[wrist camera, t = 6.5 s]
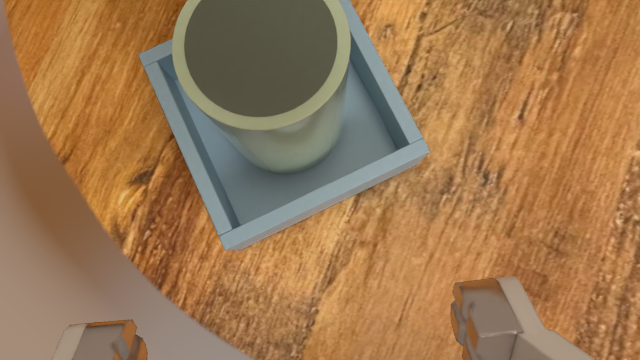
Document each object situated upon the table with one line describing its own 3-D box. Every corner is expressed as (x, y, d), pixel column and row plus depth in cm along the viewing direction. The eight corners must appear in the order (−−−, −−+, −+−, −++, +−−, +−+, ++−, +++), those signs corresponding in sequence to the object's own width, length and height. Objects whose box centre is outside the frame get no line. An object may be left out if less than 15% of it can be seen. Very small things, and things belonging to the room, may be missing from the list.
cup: (363, 143, 27) (382, 81, 17) (257, 194, 27) (214, 160, 17) (313, 44, 28) (303, -69, 18) (210, 92, 28) (143, 4, 18)
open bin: (417, 164, 28) (430, 151, 24) (239, 250, 27) (224, 250, 24) (331, 1, 30) (331, -35, 26) (162, 79, 29) (137, 54, 25)
